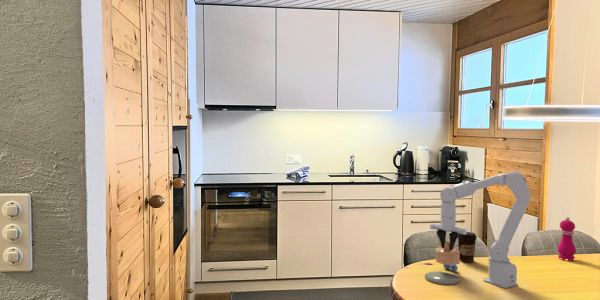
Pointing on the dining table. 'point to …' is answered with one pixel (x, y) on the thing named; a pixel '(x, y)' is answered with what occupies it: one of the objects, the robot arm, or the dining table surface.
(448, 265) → the blue marble
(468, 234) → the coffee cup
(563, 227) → the pepper mill
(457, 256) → the lid with knob
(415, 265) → the dining table surface
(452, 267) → the blue marble
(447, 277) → the slate plate
